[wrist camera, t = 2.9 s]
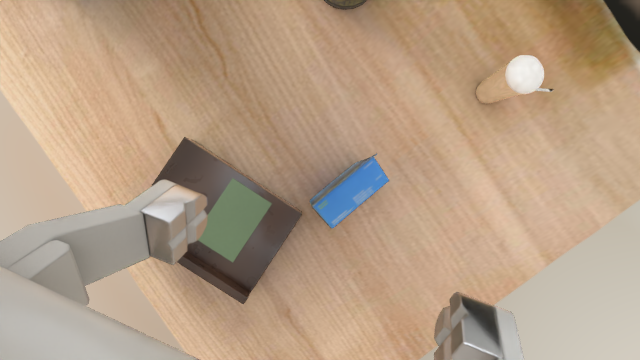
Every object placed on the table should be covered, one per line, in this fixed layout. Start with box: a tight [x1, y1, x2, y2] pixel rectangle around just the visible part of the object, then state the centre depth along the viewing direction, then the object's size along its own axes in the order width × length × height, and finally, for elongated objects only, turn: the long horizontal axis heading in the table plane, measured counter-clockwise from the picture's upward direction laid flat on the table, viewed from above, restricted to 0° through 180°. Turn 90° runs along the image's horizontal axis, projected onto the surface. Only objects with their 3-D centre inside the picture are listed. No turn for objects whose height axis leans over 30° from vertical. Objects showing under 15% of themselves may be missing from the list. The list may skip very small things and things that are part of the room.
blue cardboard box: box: [310, 153, 389, 228], centre depth 39 cm, size 9×4×12 cm, turn 130°
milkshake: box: [476, 55, 554, 104], centre depth 41 cm, size 4×5×10 cm
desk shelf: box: [152, 137, 302, 304], centre depth 42 cm, size 18×13×5 cm
